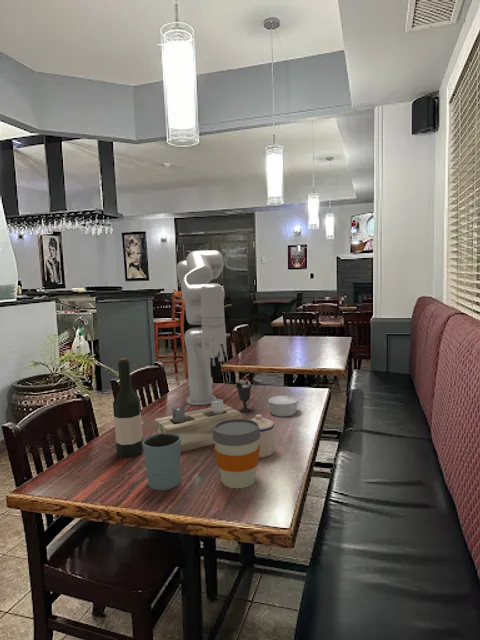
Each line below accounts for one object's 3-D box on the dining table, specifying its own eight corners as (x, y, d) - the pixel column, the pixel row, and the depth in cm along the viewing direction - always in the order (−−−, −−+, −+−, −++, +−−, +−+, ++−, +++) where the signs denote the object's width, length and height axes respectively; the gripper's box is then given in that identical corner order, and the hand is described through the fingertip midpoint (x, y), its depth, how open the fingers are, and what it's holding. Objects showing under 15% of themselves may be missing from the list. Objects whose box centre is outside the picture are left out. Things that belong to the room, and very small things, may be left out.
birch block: (156, 442, 148) (155, 419, 147) (226, 426, 160) (225, 404, 159) (169, 455, 137) (167, 430, 136) (242, 436, 150) (241, 413, 149)
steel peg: (210, 421, 152) (209, 400, 151) (220, 419, 154) (219, 398, 153) (215, 425, 149) (214, 403, 148) (226, 422, 151) (225, 401, 150)
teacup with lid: (275, 446, 141) (274, 410, 139) (274, 458, 132) (273, 420, 130) (237, 445, 142) (235, 410, 141) (234, 458, 133) (232, 420, 132)
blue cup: (149, 495, 114) (146, 450, 112) (141, 478, 123) (138, 436, 121) (188, 485, 117) (185, 442, 116) (177, 470, 127) (175, 429, 125)
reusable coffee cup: (268, 487, 115) (266, 431, 113) (221, 496, 112) (218, 438, 110) (253, 466, 127) (251, 415, 125) (210, 474, 124) (207, 421, 122)
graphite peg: (171, 430, 146) (170, 408, 145) (183, 427, 148) (181, 405, 147) (176, 434, 142) (174, 411, 141) (187, 431, 144) (186, 409, 143)
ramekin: (304, 413, 170) (303, 399, 170) (281, 419, 164) (281, 406, 164) (285, 406, 180) (284, 393, 179) (263, 412, 174) (262, 399, 173)
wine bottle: (148, 448, 143) (142, 356, 140) (134, 459, 135) (127, 362, 132) (126, 446, 146) (119, 355, 142) (111, 456, 138) (103, 361, 134)
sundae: (254, 407, 179) (252, 371, 178) (252, 413, 173) (251, 375, 171) (237, 407, 180) (236, 371, 178) (235, 413, 173) (234, 375, 172)
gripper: (193, 321, 152) (196, 374, 154) (212, 325, 139) (215, 383, 141) (213, 319, 156) (216, 371, 158) (234, 323, 143) (236, 379, 145)
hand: (216, 376), depth 149 cm, fingers closed
